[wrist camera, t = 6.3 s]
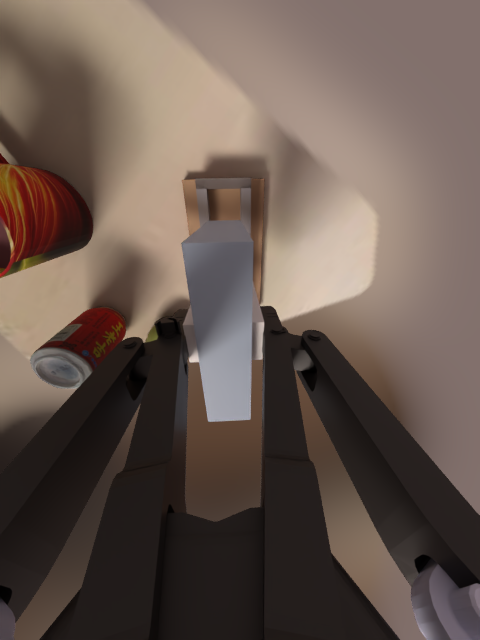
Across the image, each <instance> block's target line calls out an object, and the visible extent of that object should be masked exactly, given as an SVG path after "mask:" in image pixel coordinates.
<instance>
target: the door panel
mask: <svg viewBox="0 0 480 640" xmlns="http://www.w3.org/2000/svg"><path fill="white" fill-rule="evenodd" d="M181 244H182V251H183V257H184V264H185V270H186V277H187V284H188V290H189V297H190V304H191V310H192V317H193V324H194V330H195V337H196V344H197V350H198V357H199V364H200V370H201V377H202V384H203V390H204V397H205V404H206V410H207V417H208V421H209V422H212V421H233V420H250V417H251V358H252V297H253V240H252V238H251V237H250V235H249V233H248V232H247V230H246V228H245V227H244V225H243V223H242V222H241V220H222V221H207V222H206V223H205V224H204V225H203V226H201V227H200V228H199V229H198V230H197V231H195V232H194V233H193V234H192V235H191V236H189V237H188V238H187V239H186V240H185V241H183V242H182V243H181Z"/></svg>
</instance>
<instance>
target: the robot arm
mask: <svg viewBox="0 0 480 640" xmlns="http://www.w3.org/2000/svg"><path fill="white" fill-rule="evenodd" d="M155 328H156V332H157V335H158V338H157V340H154V341H150V342H146V343H143V340H142V339H141V338H139V337H131V338H127V339H125V340H123V341H121V342H120V343H118V344H117V346H116V347H115V348H114V349H113V350H112V351H111V352H110V353H109V354H108V355H107V357H106V358H105V359H104V360H103V361H102V362H101V363H100V364H99V365H98V367H97V368H96V369H95V370H94V371H93V372H92V373H91V374H90V375H89V377H88V378H87V379H86V380H85V381H84V382H83V383H82V384H81V385H80V386H79V388H78V389H77V390H76V391H75V392H74V393H73V394H72V395H71V396H70V398H69V399H68V400H67V401H66V402H65V403H64V404H63V405H62V406H61V408H60V409H59V410H58V411H57V412H56V413H55V414H54V415H53V416H52V418H51V419H50V420H49V421H48V422H47V423H46V424H45V425H44V427H42V429H41V430H40V431H39V432H38V433H37V434H36V435H35V436H34V437H33V439H32V440H31V441H30V442H29V443H28V444H27V445H26V446H25V448H24V449H23V450H22V451H21V452H20V453H19V454H18V455H17V456H16V457H15V458H14V460H13V461H12V462H11V463H10V464H9V465H8V466H7V467H6V468H5V469H4V471H3V472H2V473H1V474H0V640H14V637H13V635H14V631H15V623H16V621H17V620H18V619H19V617H20V616H21V614H22V613H23V612H24V610H25V609H26V607H27V606H28V604H29V603H30V601H31V600H32V598H33V597H34V595H35V594H36V592H37V591H38V589H39V587H40V586H41V584H42V583H43V581H44V580H45V578H46V577H47V575H48V573H49V572H50V570H51V568H52V566H53V565H54V563H55V561H56V559H57V558H58V556H59V554H60V552H61V551H62V549H63V547H64V545H65V543H66V541H67V539H68V537H69V536H70V533H71V532H72V530H73V528H74V526H75V524H76V522H77V521H78V519H79V517H80V515H81V513H82V511H83V509H84V508H85V506H86V504H87V502H88V500H89V498H90V496H91V494H92V493H93V491H94V489H95V487H96V485H97V483H98V481H99V479H100V478H101V476H102V474H103V472H104V470H105V468H106V466H107V464H108V463H109V461H110V459H111V457H112V455H113V453H114V451H115V450H116V448H117V446H118V444H119V442H120V440H121V438H122V436H123V435H124V433H125V431H126V429H127V427H128V425H129V423H130V422H131V420H132V418H133V416H134V414H135V412H136V410H137V408H138V406H139V405H140V403H141V405H140V409H139V413H138V417H137V421H136V425H135V429H134V433H133V437H132V440H131V444H130V448H129V452H128V456H127V461H126V464H125V467H124V469H123V471H121V472H120V473H118V474H117V475H116V476H115V478H114V479H113V482H112V484H111V487H110V490H109V493H108V497H107V501H106V504H105V507H104V511H103V514H102V518H101V521H100V525H99V528H98V532H97V536H96V539H95V542H94V546H93V549H92V553H91V556H90V560H89V564H88V567H87V570H86V574H85V577H84V581H83V585H82V587H81V589H80V590H79V591H78V592H77V594H76V595H75V597H73V599H72V600H71V601H70V603H69V604H68V605H67V606H66V607H65V609H64V610H63V611H62V612H61V614H60V615H59V616H58V617H57V619H56V620H55V621H54V622H53V624H52V625H51V626H50V627H49V628H48V630H47V631H46V632H45V633H44V635H43V636H42V637H41V638H40V640H400V639H399V638H398V636H397V635H396V634H395V633H394V631H393V630H392V629H391V628H390V626H389V625H388V624H387V623H386V621H385V620H384V619H383V618H382V616H381V615H380V614H379V613H378V611H377V610H376V609H375V607H374V606H373V605H372V604H371V602H370V601H369V600H368V599H367V597H366V596H365V595H364V594H363V592H362V591H361V590H360V588H359V587H358V586H357V585H356V583H355V582H354V581H353V580H352V578H351V577H350V576H349V575H348V573H347V572H346V571H345V570H344V568H343V567H342V566H341V565H340V563H339V562H338V561H337V560H336V558H335V557H334V556H333V554H332V553H331V550H330V545H329V539H328V534H327V528H326V523H325V517H324V512H323V506H322V501H321V496H320V490H319V484H318V479H317V475H316V470H315V467H314V464H313V462H312V461H310V459H309V456H308V450H307V444H306V438H305V432H304V426H303V420H302V414H301V408H300V402H299V396H298V390H297V384H296V377H295V371H294V370H296V371H297V374H298V376H299V378H300V380H301V381H302V384H303V385H304V388H305V389H306V391H307V393H308V395H309V397H310V399H311V401H312V403H313V405H314V407H315V409H316V411H317V413H318V415H319V417H320V419H321V421H322V423H323V425H324V427H325V429H326V431H327V433H328V435H329V437H330V439H331V441H332V443H333V445H334V447H335V449H336V451H337V453H338V455H339V457H340V459H341V461H342V463H343V465H344V467H345V468H346V471H347V472H348V475H349V476H350V478H351V480H352V482H353V484H354V486H355V488H356V490H357V492H358V494H359V496H360V498H361V500H362V502H363V504H364V506H365V508H366V510H367V512H368V514H369V516H370V518H371V520H372V522H373V524H374V526H375V528H376V530H377V532H378V533H379V535H380V537H381V539H382V541H383V543H384V544H385V546H386V548H387V550H388V552H389V553H390V555H391V556H392V558H393V560H394V561H395V563H396V564H397V566H398V568H399V569H400V571H401V572H402V573H403V575H404V577H405V578H406V580H407V581H408V583H409V584H410V585H411V601H412V606H413V611H414V613H415V620H416V622H417V624H418V626H419V629H420V631H421V632H422V634H423V635H424V637H425V638H426V639H427V640H480V515H479V514H477V513H476V511H475V510H474V509H473V508H472V506H471V505H470V504H469V503H468V502H467V501H466V500H465V498H464V497H463V496H462V495H461V494H460V492H459V491H458V490H457V489H456V488H455V487H454V485H452V483H451V482H450V481H449V479H448V478H447V477H446V476H445V475H444V474H443V473H442V471H441V470H440V469H439V468H438V467H437V465H436V464H435V463H434V462H433V461H432V460H431V458H430V457H429V456H428V455H427V454H426V453H425V451H424V450H423V449H422V448H421V447H420V446H419V444H418V443H417V442H416V441H415V440H414V438H413V437H412V436H411V435H410V434H409V433H408V431H406V429H405V428H404V427H403V426H402V424H401V423H400V422H399V421H398V420H397V418H396V417H395V416H394V415H393V414H392V413H391V411H389V409H388V408H387V407H386V406H385V404H384V403H383V402H382V401H381V400H380V399H379V397H378V396H377V395H376V394H375V393H374V391H373V390H372V389H371V388H370V387H369V386H368V384H367V383H366V382H365V381H364V380H363V379H362V377H361V376H360V375H359V374H358V373H357V372H356V371H355V369H354V368H353V367H352V366H351V365H350V364H349V362H348V361H347V360H346V359H345V358H344V356H343V355H342V354H341V353H340V352H339V350H338V349H337V348H336V347H335V346H334V345H333V343H332V342H331V341H330V340H329V339H328V338H327V336H326V335H325V334H323V333H322V332H319V331H316V330H307V331H305V332H303V334H302V336H298V335H293V334H290V333H288V331H287V329H286V328H285V327H283V326H282V325H281V322H280V320H279V317H278V315H277V312H276V310H275V309H274V308H273V307H272V306H260V305H259V301H258V298H257V294H256V291H255V287H254V283H253V297H252V358H251V360H256V359H262V355H263V395H262V453H261V499H260V507H258V508H249V509H247V510H244V511H242V512H240V513H237V514H235V515H232V516H230V517H228V518H226V519H223V520H221V521H218V522H213V521H210V520H206V519H203V518H200V517H196V516H193V515H190V514H187V512H186V502H185V475H186V437H187V436H186V435H187V398H188V364H187V360H188V356H189V361H190V362H199V357H198V350H197V344H196V337H195V330H194V324H193V317H192V310H191V304H190V307H189V309H183V310H178V311H177V312H176V313H174V316H173V317H165V318H162V319H159V320H158V321H156V323H155Z"/></svg>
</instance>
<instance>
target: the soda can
mask: <svg viewBox="0 0 480 640" xmlns="http://www.w3.org/2000/svg"><path fill="white" fill-rule="evenodd" d="M125 327H126V322H125V319H124V318H123V316H122V315H121V314H120V313H119V312H118V311H116V310H114V309H112V308H109V307H99V308H93V309H89V310H87V311H85V312H83V313H82V314H81V315H80V316H78V317H77V318H76V319H75V320H73V321H72V322H71V323H70V324H68V325H67V326H66V327H65V328H64V329H62V330H61V331H60V332H58V333H57V334H56V335H55V336H54V337H52V338H51V339H50V340H49V341H47V342H46V343H45V344H44V345H42V346H41V347H40V348H39V349H37V350H36V351H35V352H34V353H33V355H32V356H31V358H30V363H31V366H32V369H33V370H34V372H35V373H36V375H37V376H38V377H39V378H40V379H42V380H43V381H45V382H46V383H48V384H51V385H52V386H54V387H57V388H67V389H69V388H79V386H80V385H81V384H82V383H83V382H84V381H85V380H86V379H87V378H88V377H89V375H90V374H91V373H92V372H93V371H94V370H95V369H96V368H97V367H98V365H99V364H100V363H101V362H102V361H103V360H104V359H105V358H106V357H107V355H108V354H109V353H110V352H111V351H112V350H113V349H114V348H115V347H116V346H117V344H118V343H120V342H121V341H122V340H123V338H124V337H125V333H126V328H125Z"/></svg>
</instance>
